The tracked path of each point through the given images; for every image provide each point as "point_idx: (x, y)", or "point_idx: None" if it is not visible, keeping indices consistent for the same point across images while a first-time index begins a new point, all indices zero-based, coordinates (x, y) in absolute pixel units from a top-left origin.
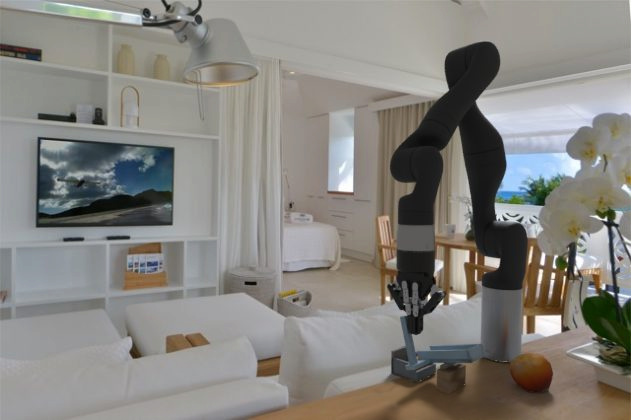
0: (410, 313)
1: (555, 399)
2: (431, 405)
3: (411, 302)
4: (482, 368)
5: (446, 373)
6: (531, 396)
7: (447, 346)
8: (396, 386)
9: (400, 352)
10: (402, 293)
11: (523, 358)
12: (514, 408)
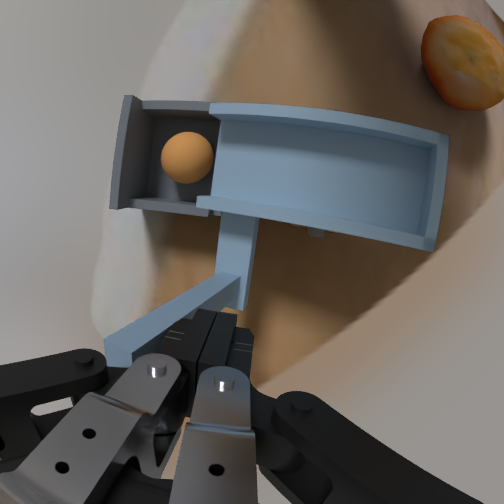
0: (180, 430)
1: (488, 113)
2: (310, 309)
3: (155, 473)
4: (323, 12)
5: (326, 231)
6: (461, 120)
7: (293, 118)
8: (194, 269)
9: (126, 169)
10: (4, 412)
11: (476, 61)
12: (452, 204)
